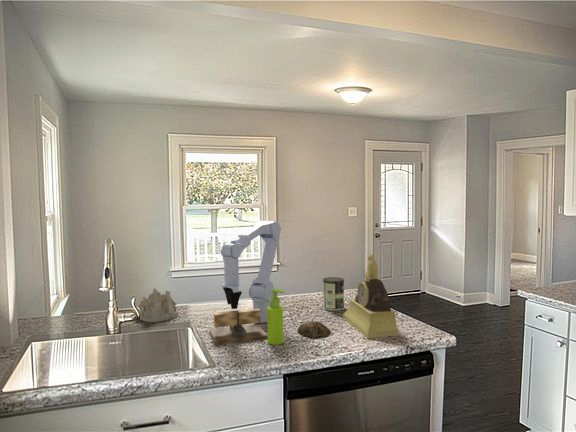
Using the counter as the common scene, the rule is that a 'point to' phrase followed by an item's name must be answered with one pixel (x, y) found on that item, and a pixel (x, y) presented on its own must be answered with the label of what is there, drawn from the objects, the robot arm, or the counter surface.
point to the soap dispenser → (275, 319)
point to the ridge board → (231, 338)
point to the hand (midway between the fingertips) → (232, 306)
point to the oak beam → (236, 317)
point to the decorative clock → (372, 307)
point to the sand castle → (157, 307)
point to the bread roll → (313, 329)
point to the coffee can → (333, 293)
